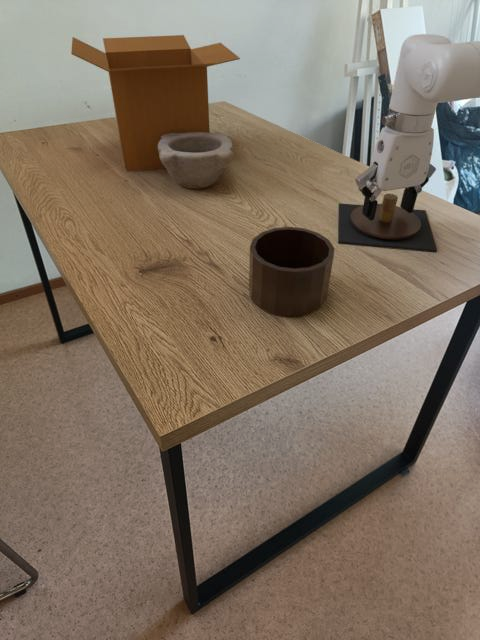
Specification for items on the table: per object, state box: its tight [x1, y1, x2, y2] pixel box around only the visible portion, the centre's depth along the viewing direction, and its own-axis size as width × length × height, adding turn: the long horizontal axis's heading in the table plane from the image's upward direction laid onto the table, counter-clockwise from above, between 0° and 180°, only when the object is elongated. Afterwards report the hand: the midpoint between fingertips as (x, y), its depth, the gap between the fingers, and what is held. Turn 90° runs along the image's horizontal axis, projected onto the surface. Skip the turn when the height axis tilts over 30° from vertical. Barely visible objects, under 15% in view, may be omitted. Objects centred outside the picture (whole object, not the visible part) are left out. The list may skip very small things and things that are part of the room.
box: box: [70, 34, 241, 172], centre depth 112 cm, size 36×40×26 cm
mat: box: [337, 203, 438, 253], centre depth 90 cm, size 18×16×1 cm
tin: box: [248, 226, 335, 318], centre depth 71 cm, size 13×13×8 cm
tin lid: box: [350, 193, 421, 239], centre depth 88 cm, size 14×14×6 cm
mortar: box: [158, 131, 235, 190], centre depth 104 cm, size 17×17×9 cm
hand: (387, 213), depth 88 cm, fingers open, 8 cm apart
